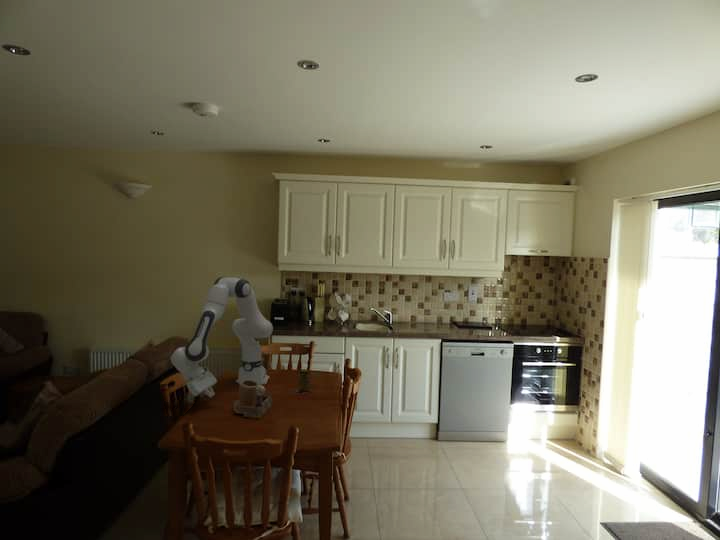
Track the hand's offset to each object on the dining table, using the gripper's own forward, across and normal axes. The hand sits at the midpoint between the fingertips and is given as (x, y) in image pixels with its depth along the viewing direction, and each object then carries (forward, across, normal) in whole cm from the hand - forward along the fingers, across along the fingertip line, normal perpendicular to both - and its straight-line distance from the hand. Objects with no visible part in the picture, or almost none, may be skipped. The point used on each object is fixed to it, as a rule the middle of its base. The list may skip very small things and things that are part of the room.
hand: (212, 395), depth 227 cm
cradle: (+21, 0, -13) cm, 25 cm away
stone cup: (+17, 0, -8) cm, 19 cm away
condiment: (+31, +36, -23) cm, 53 cm away
